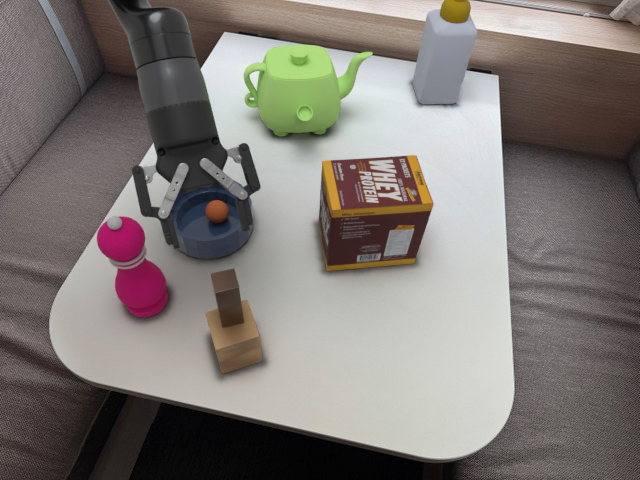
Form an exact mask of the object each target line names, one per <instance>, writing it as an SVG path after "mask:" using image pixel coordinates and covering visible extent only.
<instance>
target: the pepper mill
mask: <svg viewBox="0 0 640 480" xmlns="http://www.w3.org/2000/svg"><path fill="white" fill-rule="evenodd" d="M145 234H146V233H145V229H144V228H143V227H142V225H141V224H140V223H139V222H138V221H137V220H136V219H134V218H132V217H129V216H125V215H124V216H121V215H119V216H118V215H112V216H109V217H108V219H107V220H106V221H105V222H104V223H102V225H100V227H99V228H98V230H97V233H96V244H97V247H98V249H99V251H100V252H101V254H102V255H104V256H105V257H106V258H107V259H108V260H109V264H111V266H113V267H114V268H116V270H117V271H116V276H115V278H114V289H115V294H116V296H117V298H118V300H119V301H120V302H121V303H122V304H123V305H125V306H126V309H127V310H128V312H129V313H130V314H131V315H133V316H135V317H138V318H150V317H153V316H155V315H157V314H159V313H160V312H162V310H164V308H165V307H166V306H167V304H168V303H167V302H168V292H167V289H166V288H167V279H166V276H165V273H163V271H162V269H161V268H160V267H159V266H158V265H157V264H156V263H154V262H152V261H151V260H149V259H147V258H146V257H147V247H146V235H145Z"/></svg>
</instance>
